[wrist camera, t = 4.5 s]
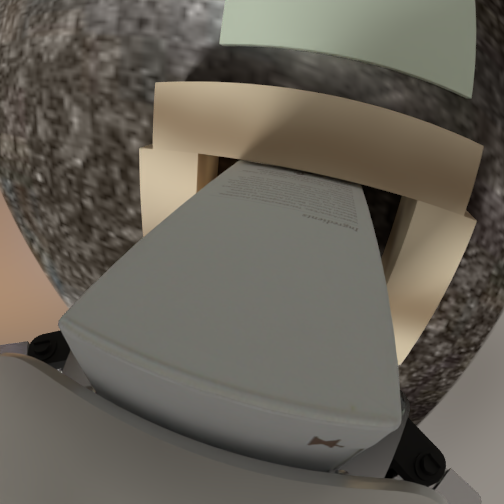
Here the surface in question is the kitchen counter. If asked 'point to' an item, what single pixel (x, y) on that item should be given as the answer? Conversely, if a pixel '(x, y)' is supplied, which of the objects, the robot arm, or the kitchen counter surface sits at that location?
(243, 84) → the wooden square frame
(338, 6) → the pad
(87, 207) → the kitchen counter surface
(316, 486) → the robot arm
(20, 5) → the kitchen counter surface
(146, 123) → the kitchen counter surface
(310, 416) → the small box
